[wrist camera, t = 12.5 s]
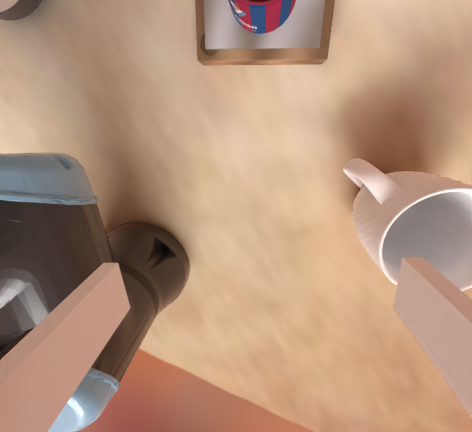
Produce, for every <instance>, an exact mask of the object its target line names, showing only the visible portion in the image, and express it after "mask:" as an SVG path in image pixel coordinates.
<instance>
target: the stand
mask: <svg viewBox="0 0 472 432" xmlns="http://www.w3.org/2000/svg"><path fill="white" fill-rule="evenodd" d="M334 1H335V0H296V2H295V5H294V8H293V10H292V12H291V14H290V16H289V17H288V19H287V20H286V21H285V22H284V23H283V24H282V25H281V26H280V27H279V28H277V29H275V30H274V31H272V32H268V33H263V34H258V33H253V32H250V31H248V30H246V29H244V28H243V27H242V26H241V25H240V24H239V23H238V22H237V20H236V19H235V17H234V15H233V13H232V10H231V7H230V4H229V1H228V0H195V3H196V29H197V55H198V61H199V62H201V63H202V64H203V65H295V64H322V63H323V62H324V61H325V60H326V59H327V57H328V49H329V41H330V33H331V25H332V17H333V9H334Z"/></svg>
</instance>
